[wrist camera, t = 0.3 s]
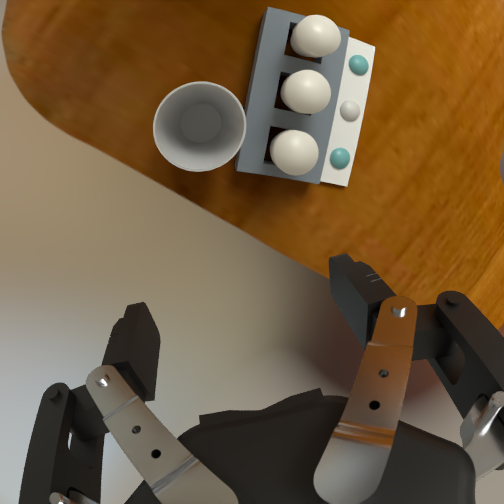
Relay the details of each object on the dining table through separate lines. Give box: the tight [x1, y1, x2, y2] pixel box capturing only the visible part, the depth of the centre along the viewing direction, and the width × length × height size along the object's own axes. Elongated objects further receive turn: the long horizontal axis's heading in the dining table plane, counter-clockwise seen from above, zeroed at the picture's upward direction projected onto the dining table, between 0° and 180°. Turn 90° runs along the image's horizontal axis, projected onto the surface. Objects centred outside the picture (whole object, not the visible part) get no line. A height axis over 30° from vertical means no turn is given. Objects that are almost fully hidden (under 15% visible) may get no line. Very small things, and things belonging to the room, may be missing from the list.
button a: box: [290, 15, 341, 58], centre depth 26 cm, size 5×5×5 cm
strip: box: [320, 37, 375, 186], centre depth 35 cm, size 20×4×1 cm, turn 170°
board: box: [234, 7, 350, 184], centre depth 32 cm, size 20×10×3 cm, turn 170°
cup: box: [153, 82, 246, 172], centre depth 29 cm, size 8×8×10 cm
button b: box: [280, 70, 331, 114], centre depth 29 cm, size 5×5×5 cm
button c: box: [270, 130, 319, 176], centre depth 31 cm, size 5×5×5 cm
